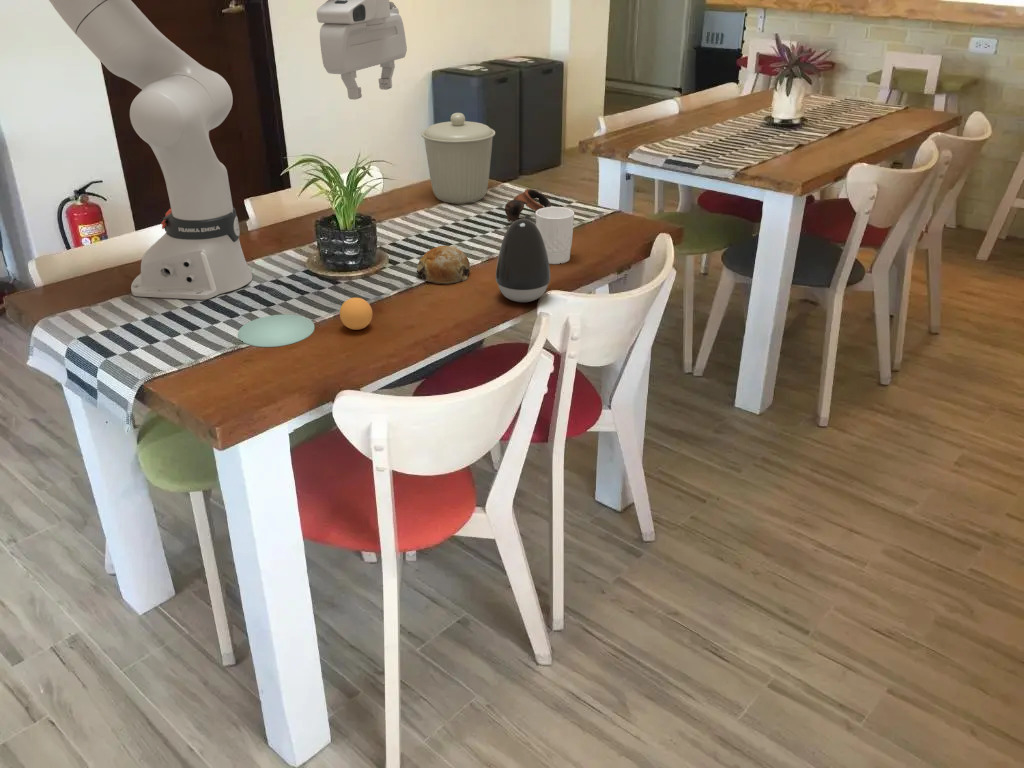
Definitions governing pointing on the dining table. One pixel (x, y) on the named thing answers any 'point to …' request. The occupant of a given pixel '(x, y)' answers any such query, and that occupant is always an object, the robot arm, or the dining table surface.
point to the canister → (459, 159)
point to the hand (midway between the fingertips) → (370, 93)
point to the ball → (355, 313)
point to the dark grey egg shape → (523, 262)
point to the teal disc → (276, 330)
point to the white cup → (556, 232)
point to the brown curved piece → (517, 203)
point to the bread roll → (444, 265)
